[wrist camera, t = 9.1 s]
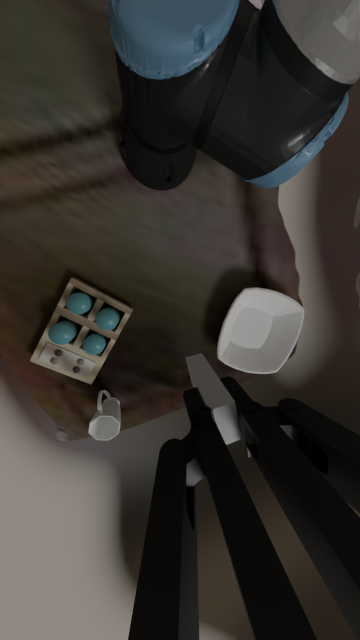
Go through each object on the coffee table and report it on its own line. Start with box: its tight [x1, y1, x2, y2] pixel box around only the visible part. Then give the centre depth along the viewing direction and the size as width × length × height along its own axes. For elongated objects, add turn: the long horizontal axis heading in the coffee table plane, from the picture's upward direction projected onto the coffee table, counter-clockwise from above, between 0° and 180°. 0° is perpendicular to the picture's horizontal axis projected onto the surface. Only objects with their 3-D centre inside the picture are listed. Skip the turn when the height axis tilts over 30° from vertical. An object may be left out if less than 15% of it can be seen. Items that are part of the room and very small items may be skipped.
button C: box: [48, 321, 77, 345], centre depth 38 cm, size 4×4×3 cm
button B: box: [95, 308, 120, 331], centre depth 39 cm, size 4×4×3 cm
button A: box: [66, 292, 93, 314], centre depth 39 cm, size 4×4×3 cm
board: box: [30, 277, 134, 384], centre depth 41 cm, size 21×14×2 cm, turn 149°
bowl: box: [217, 287, 304, 374], centre depth 47 cm, size 22×22×5 cm
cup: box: [88, 390, 120, 440], centre depth 44 cm, size 7×10×8 cm
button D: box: [83, 332, 107, 355], centre depth 42 cm, size 4×4×3 cm
